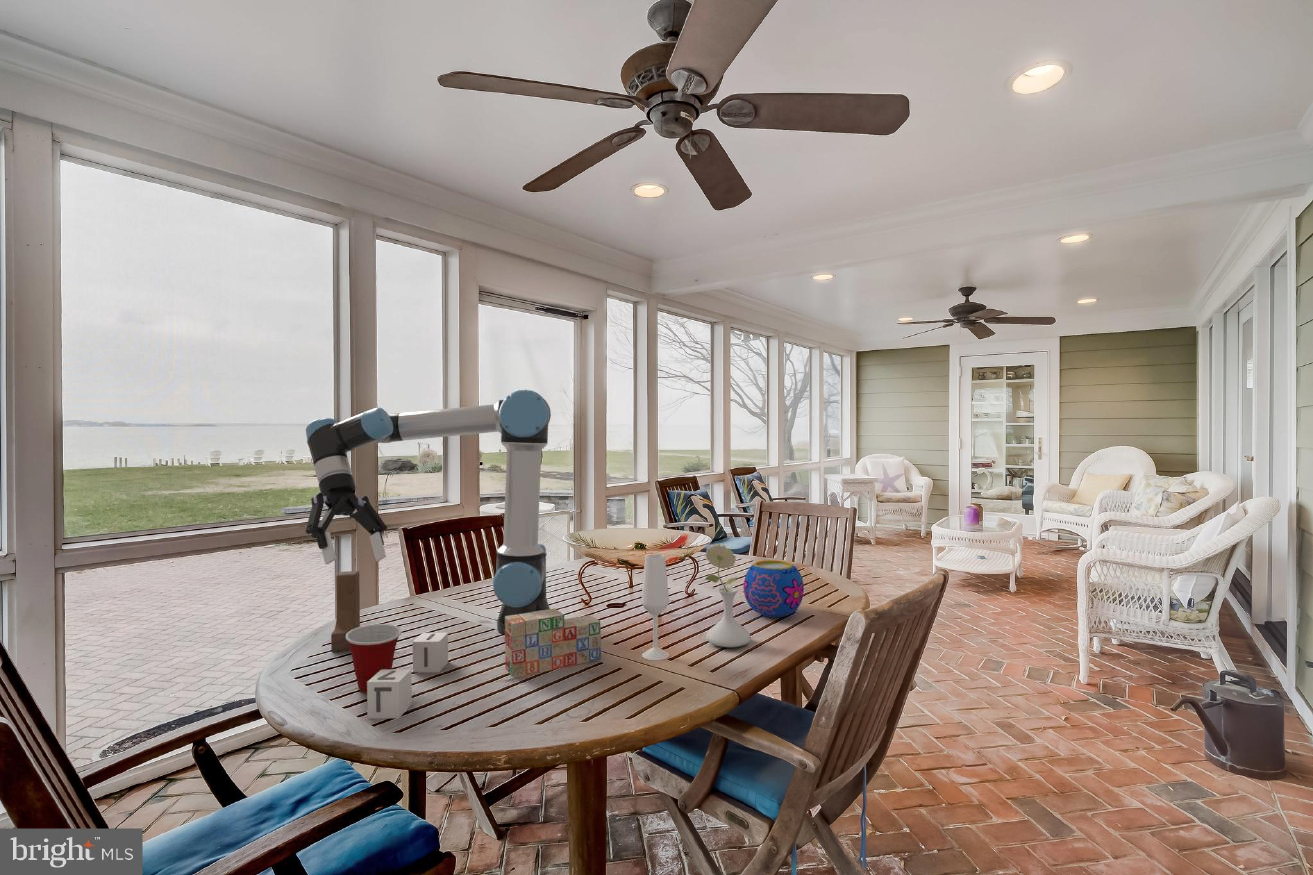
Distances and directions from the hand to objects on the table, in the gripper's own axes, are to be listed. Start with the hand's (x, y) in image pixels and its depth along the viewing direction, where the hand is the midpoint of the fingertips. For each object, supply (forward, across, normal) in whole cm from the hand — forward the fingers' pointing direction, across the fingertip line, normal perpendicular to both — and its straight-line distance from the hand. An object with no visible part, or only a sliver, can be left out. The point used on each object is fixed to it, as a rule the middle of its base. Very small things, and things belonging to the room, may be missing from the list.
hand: (357, 560), depth 139 cm
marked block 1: (+28, -11, +2) cm, 30 cm away
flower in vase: (+51, -52, +55) cm, 91 cm away
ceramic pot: (+50, -80, +62) cm, 113 cm away
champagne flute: (+46, -38, +42) cm, 73 cm away
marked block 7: (+35, +9, +8) cm, 37 cm away
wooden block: (+12, -13, -25) cm, 31 cm away
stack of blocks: (+39, -24, +24) cm, 51 cm away
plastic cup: (+28, +2, -2) cm, 29 cm away
